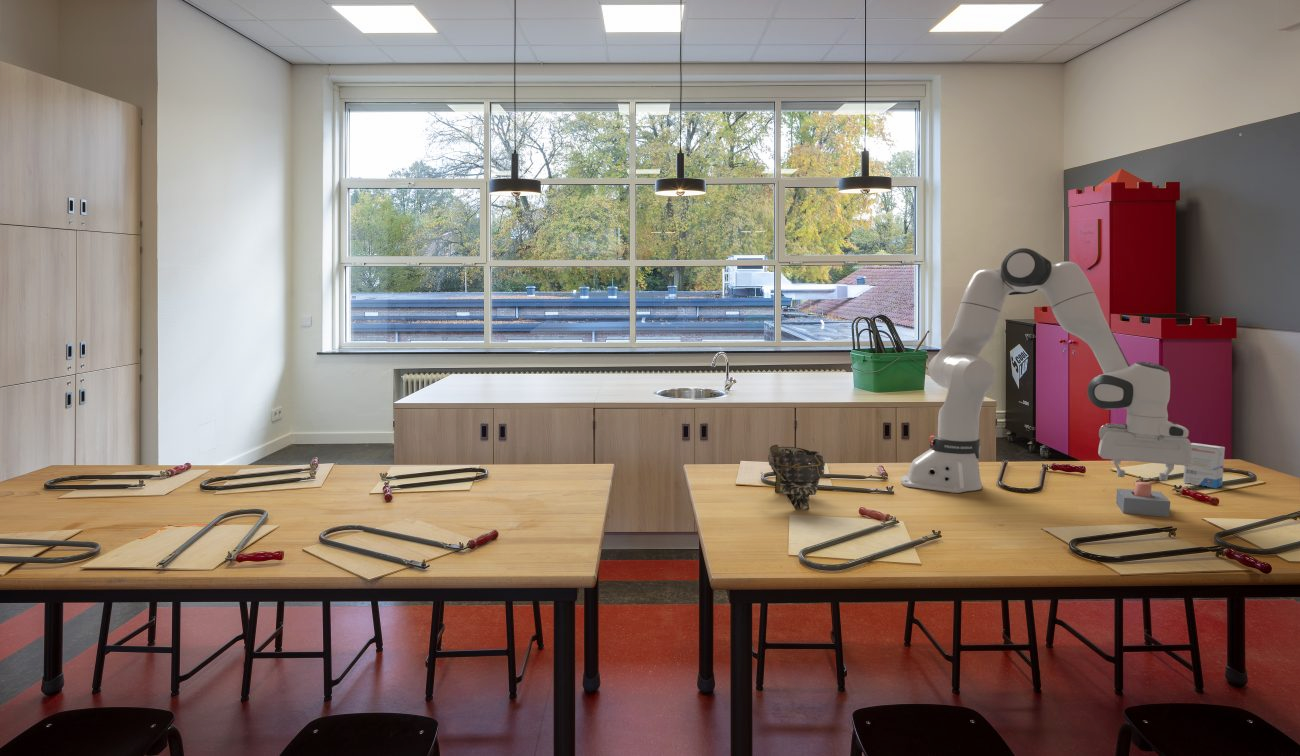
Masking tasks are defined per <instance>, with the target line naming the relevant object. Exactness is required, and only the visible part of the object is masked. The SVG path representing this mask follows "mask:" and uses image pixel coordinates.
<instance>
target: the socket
mask: <svg viewBox="0 0 1300 756" xmlns="http://www.w3.org/2000/svg"><path fill="white" fill-rule="evenodd" d="M1134 491H1135V489H1129V488H1116V498H1115V504H1116V505H1117V506H1118V507H1119V509H1120V511H1121V512H1122V513H1123V514H1132V515H1140V516H1143V515H1144V516H1154V517H1155V516H1156V517H1165V518H1170V511H1171V510H1170V509H1171V501H1170V499H1168V497H1166V495H1165V494H1164V493H1162V491H1158V490H1157V491H1153V490H1151V497H1139V496H1134Z"/></svg>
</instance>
